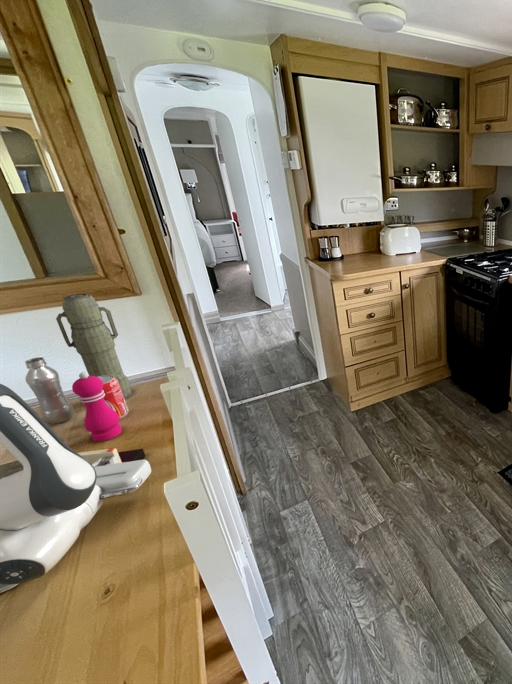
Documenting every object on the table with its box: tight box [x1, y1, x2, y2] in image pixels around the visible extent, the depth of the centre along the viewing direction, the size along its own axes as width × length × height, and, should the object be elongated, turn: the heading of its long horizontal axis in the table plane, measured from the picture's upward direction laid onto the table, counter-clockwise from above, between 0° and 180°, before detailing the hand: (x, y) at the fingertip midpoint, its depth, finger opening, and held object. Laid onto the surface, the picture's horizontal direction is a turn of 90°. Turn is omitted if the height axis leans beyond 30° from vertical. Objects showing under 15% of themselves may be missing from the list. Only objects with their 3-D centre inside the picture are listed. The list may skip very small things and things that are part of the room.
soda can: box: [98, 375, 130, 420], centre depth 112 cm, size 7×7×13 cm
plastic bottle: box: [24, 357, 75, 424], centre depth 109 cm, size 6×7×20 cm
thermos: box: [55, 293, 133, 400], centre depth 119 cm, size 9×12×35 cm
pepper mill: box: [71, 371, 123, 442], centre depth 103 cm, size 7×7×20 cm
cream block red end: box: [77, 447, 122, 464], centre depth 89 cm, size 9×1×6 cm, turn 105°
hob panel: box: [117, 448, 146, 463], centre depth 91 cm, size 15×14×3 cm
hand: (110, 458), depth 89 cm, fingers closed
